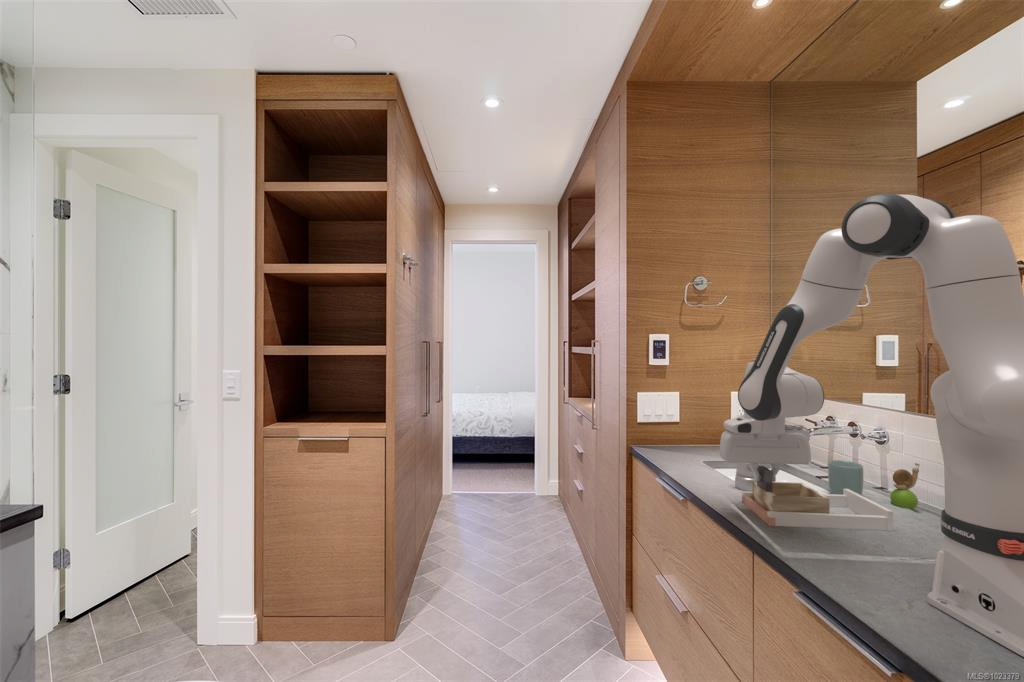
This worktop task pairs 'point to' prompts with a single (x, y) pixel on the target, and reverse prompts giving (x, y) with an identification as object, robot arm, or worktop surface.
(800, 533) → the worktop surface
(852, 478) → the cup
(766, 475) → the drawer
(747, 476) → the plastic bottle
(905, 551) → the worktop surface
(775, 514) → the white tray
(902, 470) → the snail figurine
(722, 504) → the worktop surface
